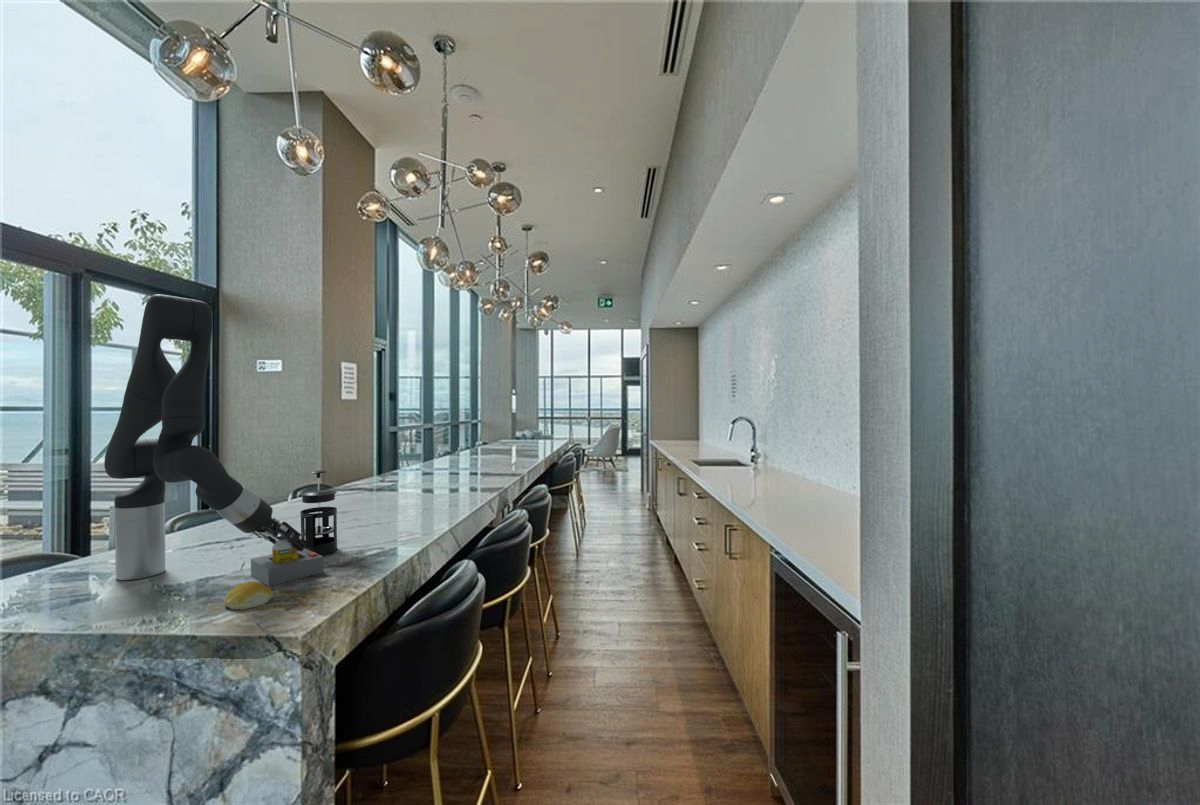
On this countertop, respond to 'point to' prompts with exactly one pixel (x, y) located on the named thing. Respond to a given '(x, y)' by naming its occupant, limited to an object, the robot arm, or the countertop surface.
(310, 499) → the french press
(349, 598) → the countertop surface
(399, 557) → the countertop surface
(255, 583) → the bread roll
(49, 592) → the countertop surface
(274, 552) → the supplement bottle
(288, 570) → the socket block
